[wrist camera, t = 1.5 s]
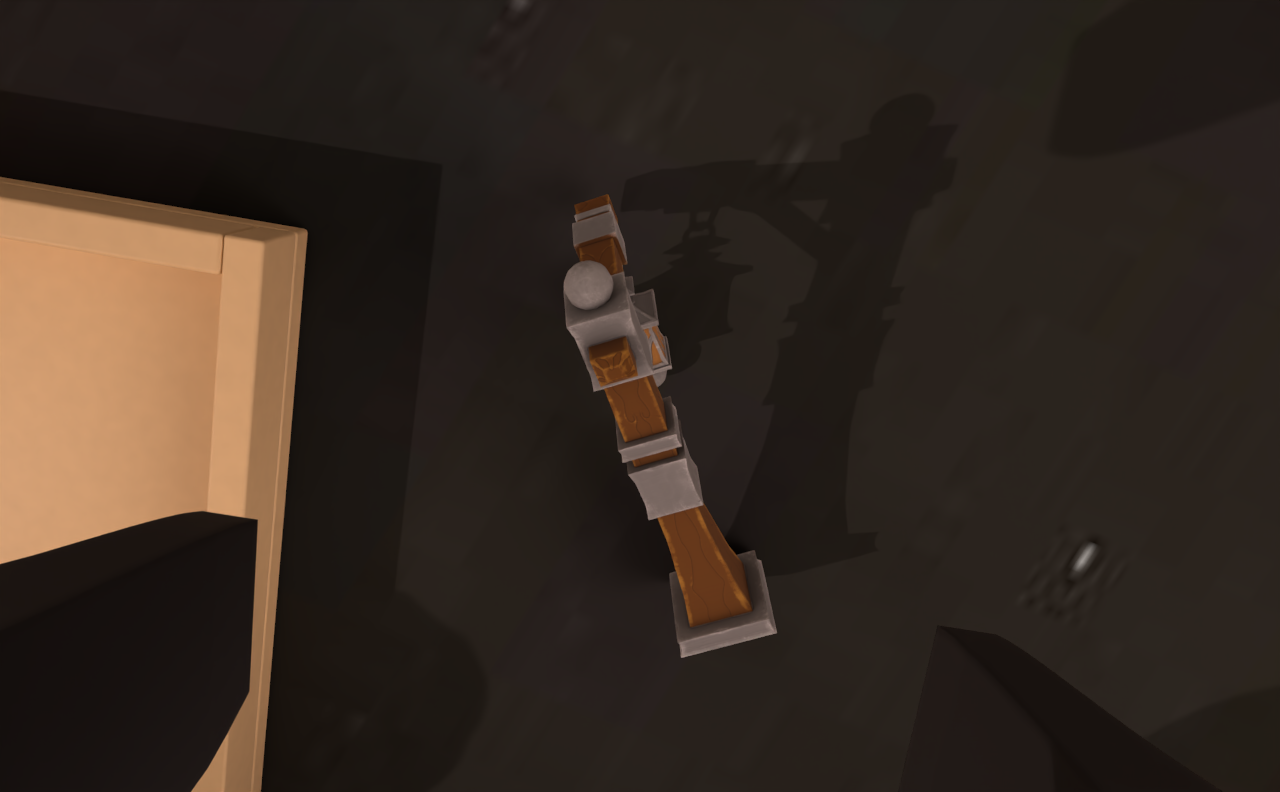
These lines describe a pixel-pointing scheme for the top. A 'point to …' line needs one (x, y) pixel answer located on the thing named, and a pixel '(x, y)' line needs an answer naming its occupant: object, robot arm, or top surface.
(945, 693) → the robot arm
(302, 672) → the top surface
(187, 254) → the tray
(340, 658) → the top surface
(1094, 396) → the top surface
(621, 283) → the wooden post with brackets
